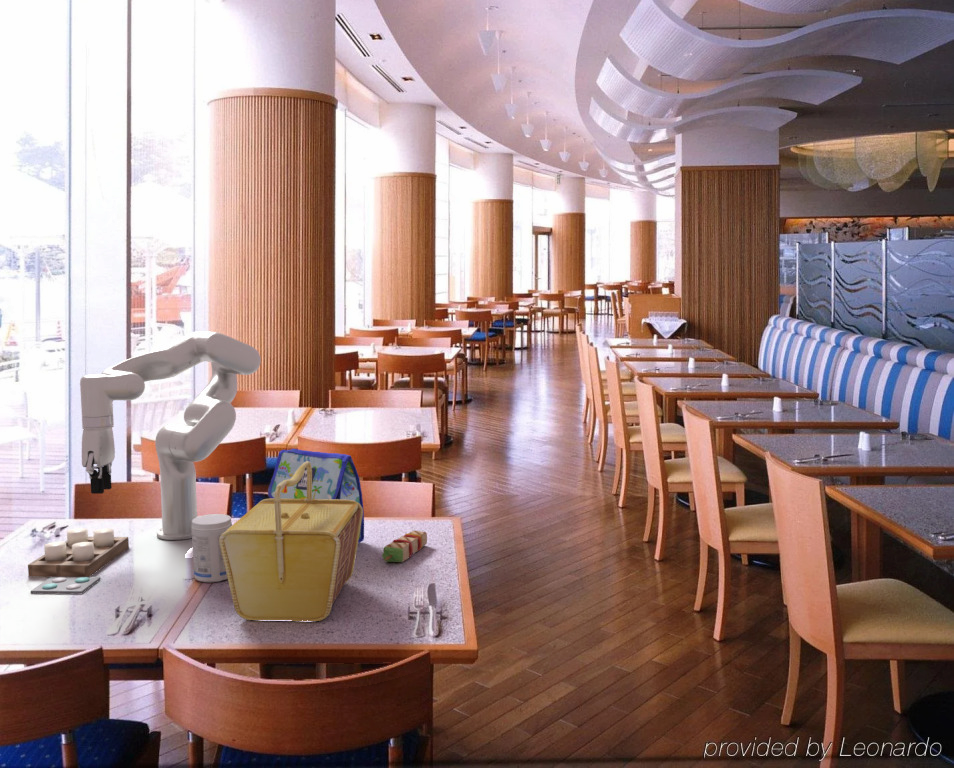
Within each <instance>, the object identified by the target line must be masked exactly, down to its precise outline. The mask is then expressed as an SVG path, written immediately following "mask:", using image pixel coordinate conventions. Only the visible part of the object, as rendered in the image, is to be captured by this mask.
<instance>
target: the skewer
mask: <svg viewBox="0 0 954 768" xmlns="http://www.w3.org/2000/svg"><path fill="white" fill-rule="evenodd" d="M427 543H428V533H427V532H426V531H419V530H412V531H410V532H409V533H405V534H404V535H403V536H400V537H399V538H398V539H397V538H395V539H394V540H392V542H390V543H388V544H386V545H385V546H384V547H383V550H382V553H381V557H382V558H383V561H384V562H387V563H388V562H389V563H392V562H393V563H403V562H405V561H406V560H408V559H409V558H412V557H413V556H414V555H415V554H416V553H417V552H419V551H420V550H422V549H423V547H424V546H426V545H427Z"/></svg>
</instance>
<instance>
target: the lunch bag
mask: <svg viewBox="0 0 954 768" xmlns="http://www.w3.org/2000/svg"><path fill="white" fill-rule="evenodd" d="M306 461H309V462H310V463H311V466H312V499H344V500H354V501H356V502H358V503H359V504H360V505H361V506H362V508H363V516H362V522H361V528H360V534H359V540H358V544H359V543H362V542H363V541H364V540H365V511H364V503H363V502H364V501H363V493H362V487H361V486H362V485H361V481H360V476H359V474H358V470H357V468H356V466H355V464H354V460H353V458H352V456H351V455H349V454H346V453H345V454H344V453H338V452H337V453H335V452H334V453H333V452H331V453H330V452H321V451H312V450H311V451H310V450H303V449H298V448H291V449H282V450H280V451H279V452H278V456H277V459H276V463H275V466H274V471H273V475H272V477H271V479H270V482H269V486H268V489H267V497H268V499H269V498H274V497H275V490H276V487H277V486H278V484H279V483H281V482H282V481H284V480H287V479H291V478H292V477H293V476H294V474H295V472H296V471H297V470H298V468H299V467H300V466H301V465H302V464H303V463H304V462H306ZM280 499H307V468H305V471H304V475H303V476H302V478H301V480H300V481H299V482H298V483H297V484H295V485H294V486H284V487H283V488H282V490H281V496H280Z"/></svg>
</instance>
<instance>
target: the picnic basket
mask: <svg viewBox="0 0 954 768" xmlns="http://www.w3.org/2000/svg"><path fill="white" fill-rule="evenodd" d="M305 468H307V499H280V496H281V490H282V488H283V487H284V486H294V485H295V484H297V483H298V482H299V481H300V480H301V478H302V476H303V475H304V471H305ZM363 509H364V507H363V508H362V506H361V505H360V504H359V503H358V502H356V501H354V500H344V499H312V466H311V463H310V462H309V461H306V462H304V463H303V464H302V465H301V466H300V467H299V468H298V470H297V471H296V472H295V474H294V476H293V477H292V478H291V479H287V480H284V481H282V482H281V483H279V484H278V486H277V487H276V490H275V497H274V498H269V497H268V498H264V499H262V500H260V501H258V503H256V505H254V506H253V507H251V509H250V510H249V511H247V512H246V513H245V514H244V515H243V516H241V517H240V518H239V519H238V520H237V521H236V522H234V524H233V523H232V526H231V527H230V528H229V529H227V530H226V531H225V532H224V533H222V535H221V537H220V540H219V544H220V548H221V552H222V557H223V561H224V565H225V569H226V574H227V578H228V579H227V583H228V586H229V589H230V590H229V591H230V596H231V600H232V604H233V607H234V610H235V612H236V614H238V616H240V618H243V619H244V620H246V621H250V620H292V621H302V620H303V621H307V620H308V621H319V622H321V621H323V620H325V619H326V618H327V617H328V616H329V615H330V614H331V611H332V606H333V604H334V602H335V601H336V600H337V598H338V595H339V594H340V592H341V591H342V589H343V587H344V586H345V584H346V582H347V581H349V580H350V579H351V578H352V577H353V576H352V575H353V573H354V569H355V564H356V562H355V561H356V556H357V551H358V545H359V543H358V540H359V534H360V528H361V522H362V516H363Z"/></svg>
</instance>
